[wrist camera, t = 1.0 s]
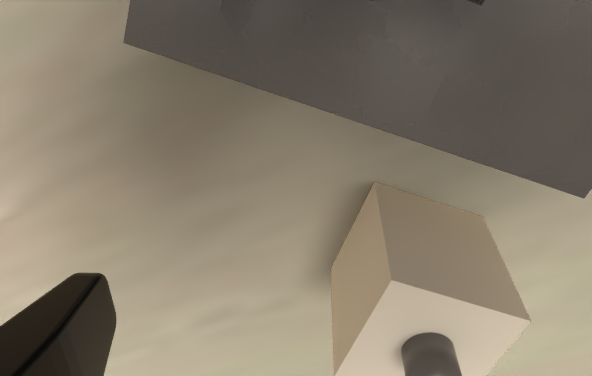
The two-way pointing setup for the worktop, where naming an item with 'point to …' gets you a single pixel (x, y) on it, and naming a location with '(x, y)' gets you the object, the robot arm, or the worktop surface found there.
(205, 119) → the worktop surface
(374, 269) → the plug
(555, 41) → the socket plate
